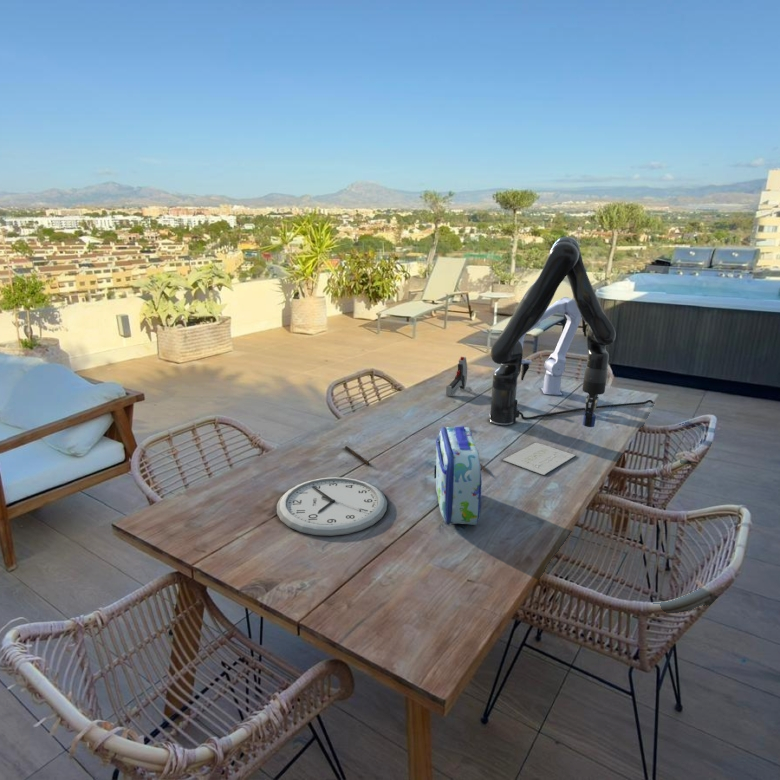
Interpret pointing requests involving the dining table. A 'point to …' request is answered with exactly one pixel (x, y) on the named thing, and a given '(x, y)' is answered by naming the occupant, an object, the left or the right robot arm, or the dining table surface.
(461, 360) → the toy gun
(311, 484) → the wall clock
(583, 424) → the can
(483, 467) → the fork
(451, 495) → the lunch box
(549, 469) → the invitation card
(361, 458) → the thin brown stick
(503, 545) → the dining table surface
